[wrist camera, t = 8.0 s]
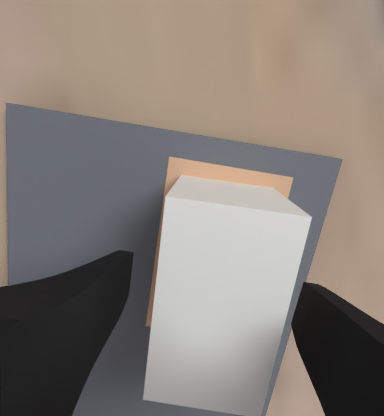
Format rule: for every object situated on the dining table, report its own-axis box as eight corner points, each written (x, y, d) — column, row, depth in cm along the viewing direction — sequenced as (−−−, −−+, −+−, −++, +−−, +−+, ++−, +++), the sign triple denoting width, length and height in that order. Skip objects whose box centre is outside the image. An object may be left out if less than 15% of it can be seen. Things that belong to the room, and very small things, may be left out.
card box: (273, 188, 13) (312, 216, 8) (243, 328, 15) (260, 418, 10) (180, 174, 13) (165, 196, 8) (163, 316, 15) (142, 399, 10)
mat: (242, 476, 19) (243, 488, 18) (16, 434, 19) (9, 445, 18) (336, 158, 13) (343, 159, 13) (14, 104, 13) (5, 102, 13)
